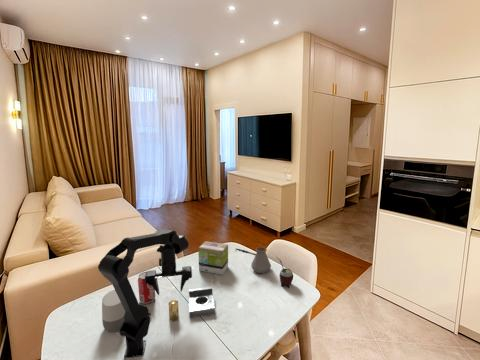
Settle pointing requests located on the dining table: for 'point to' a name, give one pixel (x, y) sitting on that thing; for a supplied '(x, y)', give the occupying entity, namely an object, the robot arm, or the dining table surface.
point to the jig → (198, 297)
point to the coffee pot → (259, 260)
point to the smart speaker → (112, 312)
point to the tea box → (213, 257)
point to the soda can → (145, 290)
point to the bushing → (173, 310)
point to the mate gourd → (285, 276)
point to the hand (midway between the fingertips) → (169, 292)
